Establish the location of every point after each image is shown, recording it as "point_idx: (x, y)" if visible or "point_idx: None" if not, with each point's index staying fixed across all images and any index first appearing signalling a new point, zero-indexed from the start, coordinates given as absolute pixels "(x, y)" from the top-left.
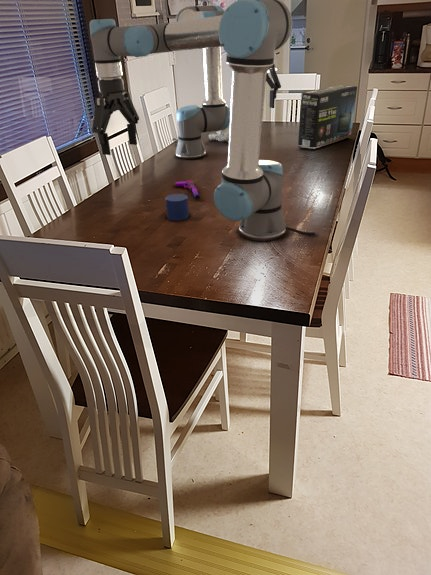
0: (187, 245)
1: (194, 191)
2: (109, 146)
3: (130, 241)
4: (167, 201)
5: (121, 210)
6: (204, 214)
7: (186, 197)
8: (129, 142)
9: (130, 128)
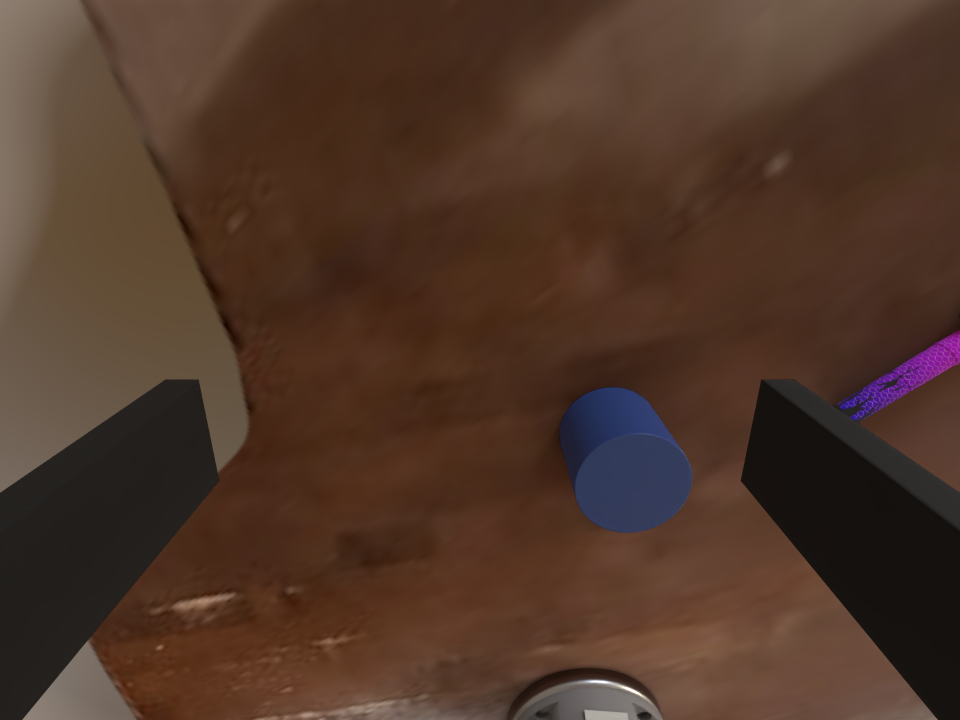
0: (382, 587)
1: (910, 378)
2: (158, 552)
3: (297, 398)
4: (579, 461)
5: (583, 105)
6: None
7: (649, 526)
8: (774, 393)
9: (929, 603)
